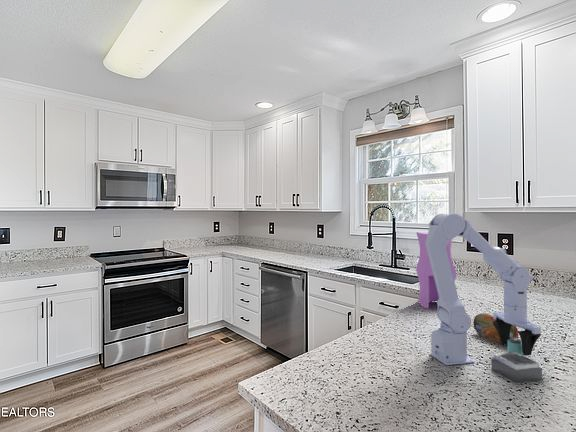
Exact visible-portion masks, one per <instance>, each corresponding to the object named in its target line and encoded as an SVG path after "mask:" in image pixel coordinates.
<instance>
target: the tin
mask: <svg viewBox="0 0 576 432" xmlns="http://www.w3.org/2000/svg"><path fill="white" fill-rule="evenodd" d="M493 321H496V319H494V318H493V314H489V313H478V314H476V315H475V316H474V318H473V322H472V323H473V324H472V325H473V328H474V330H475V332H476V333H477V335H478V336H480V337H481V338H484V339H486V340H489V341H492V342H494V343H497V344H500V345H502V344H501V341H500V338H499V334H498V332H497V330H496V328H495V326H494V325H493ZM518 331H519V330H518V327H517V326H514V325H512V326H511V330H510V338H518V339H519V333H518Z"/></svg>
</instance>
